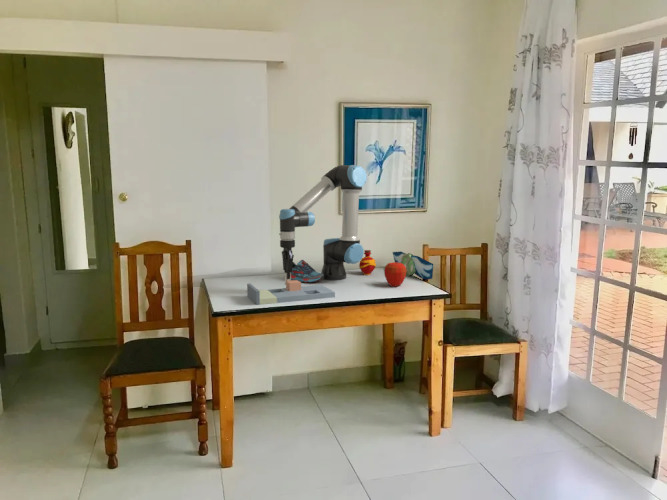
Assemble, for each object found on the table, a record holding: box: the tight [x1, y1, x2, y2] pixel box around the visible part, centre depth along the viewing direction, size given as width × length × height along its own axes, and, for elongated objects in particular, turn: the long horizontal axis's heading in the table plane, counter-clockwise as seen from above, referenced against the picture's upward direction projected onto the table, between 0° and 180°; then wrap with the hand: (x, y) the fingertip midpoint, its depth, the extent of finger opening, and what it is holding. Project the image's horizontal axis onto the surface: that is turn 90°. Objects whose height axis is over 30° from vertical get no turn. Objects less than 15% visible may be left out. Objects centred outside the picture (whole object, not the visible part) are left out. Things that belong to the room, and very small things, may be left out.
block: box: [285, 280, 302, 291], centre depth 271 cm, size 6×6×4 cm
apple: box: [383, 261, 407, 288], centre depth 290 cm, size 12×12×14 cm
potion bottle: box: [358, 249, 377, 276], centre depth 319 cm, size 10×10×15 cm
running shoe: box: [291, 259, 325, 284], centre depth 302 cm, size 10×25×12 cm, turn 61°
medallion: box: [392, 251, 434, 280], centre depth 316 cm, size 45×5×14 cm, turn 24°
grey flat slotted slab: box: [246, 282, 336, 306], centre depth 266 cm, size 40×18×6 cm, turn 113°
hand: (287, 284), depth 275 cm, fingers closed
